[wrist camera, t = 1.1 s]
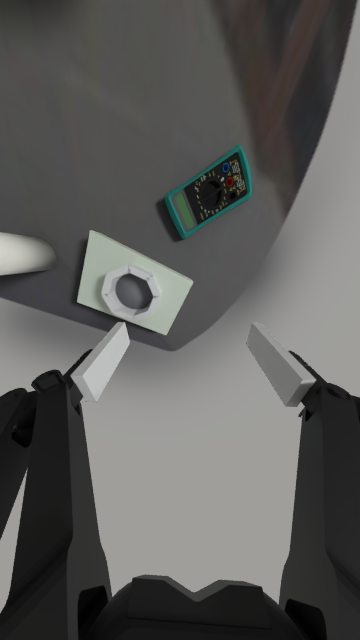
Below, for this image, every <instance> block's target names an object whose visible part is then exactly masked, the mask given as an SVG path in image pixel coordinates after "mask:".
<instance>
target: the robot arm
mask: <svg viewBox="0 0 360 640" xmlns="http://www.w3.org/2000/svg"><path fill="white" fill-rule="evenodd" d="M129 344H130V341H129V337H128V333H127V329H126V325H125V322H117V324H116V325H115V326H114V327H113V328H112V329H111V330H110V331H109V333H108V334H107V335H106V336H105V337H104V338H103V339H102V341H101V342H100V343H99V344H98V345H97V346H96V347H95V348H94V349H90V350H89V351H87V352H86V353H84V354H83V355H82V356H81V357H80V359H79V360H78V361H77V362H76V363H75V364H74V365H73V366H72V367H71V368H70V369H69V370H68V371H67V372H66V373H65V374H64V375H62V374H61V372H60V371H59V370H51V371H48V372H45V373H43V374H41V375H40V376H38V377H37V378H36V379H35V380H34V381H33V382H32V384H31V386H32V387H33V388H34V389H35V390H36V391H32V392H27V391H26V390H25V389H24V388H18V389H14V390H12V391H9V392H7V393H6V394H4V395H3V396H1V397H0V539H1V537H2V534H3V531H4V529H5V526H6V524H7V521H8V518H9V516H10V513H11V510H12V507H13V505H14V502H15V500H16V497H17V494H18V491H19V489H20V486H21V483H22V481H23V478H24V476H25V473H26V470H27V468H28V471H27V477H26V484H25V491H24V497H23V505H22V511H21V518H20V525H19V532H18V539H17V546H16V552H15V559H14V566H13V573H12V580H11V587H10V592H9V596H8V599H7V602H6V604H5V607H4V608H3V610H2V611H1V613H0V640H360V398H359V397H356V396H352V395H350V394H349V393H348V392H347V391H345V390H344V389H342V388H340V387H339V386H337V385H334V384H331V383H327V382H326V381H325V380H324V379H323V378H322V377H321V376H319V375H318V374H317V373H316V372H315V371H314V370H313V369H312V368H311V367H310V366H308V364H307V363H306V362H304V360H303V359H302V358H301V357H300V356H298V355H297V354H295V353H294V352H292V351H287V350H286V349H285V347H283V345H282V344H280V342H279V341H277V339H276V338H274V336H273V335H272V334H271V333H270V332H269V331H268V330H267V329H266V328H265V327H264V326H263V325H262V324H261V323H252V325H251V329H250V332H249V336H248V339H247V343H246V344H247V346H248V348H249V349H250V351H251V352H252V354H253V356H254V357H255V359H256V360H257V362H258V364H259V365H260V367H261V368H262V370H263V371H264V373H265V375H266V376H267V378H268V379H269V381H270V383H271V384H272V386H273V387H274V389H275V391H276V392H277V394H278V395H279V397H280V399H281V400H282V402H283V403H284V405H285V406H290V407H291V406H292V407H297V406H298V405H299V403H300V402H302V403H303V405H304V406H305V407H304V409H303V410H302V411H301V412H300V414H299V417H301V416H302V426H301V436H300V447H299V458H298V469H297V479H296V490H295V501H294V511H293V522H292V533H291V544H290V552H289V556H288V559H287V561H286V563H285V565H284V570H283V574H282V580H281V588H280V597H279V605H278V604H277V603H276V602H275V601H274V600H273V599H272V598H270V597H269V596H268V595H267V594H265V593H264V592H263V590H262V587H261V586H257V585H254V584H250V583H247V582H243V581H229V580H218V581H216V582H214V583H212V584H210V585H208V586H207V587H205V588H203V589H201V590H199V591H197V592H195V593H194V592H191V591H190V590H188V589H186V588H185V587H184V586H182V585H181V584H179V583H178V582H176V581H175V580H173V579H172V578H170V577H168V576H157V575H142V576H138V577H134V578H133V579H132V582H130V583H128V584H127V585H126V586H124V587H123V588H122V589H121V590H119V591H118V592H117V593H116V594H115V595H114V596H113V597H112V593H111V586H110V579H109V572H108V566H107V561H106V557H105V554H104V551H103V548H102V546H101V543H100V538H99V530H98V523H97V516H96V509H95V502H94V494H93V487H92V480H91V473H90V466H89V458H88V451H87V443H86V436H85V429H84V422H83V414H82V407H81V403H80V401H81V399H82V398H83V397H84V399H85V401H86V402H97V400H98V399H99V397H100V395H101V393H102V392H103V390H104V388H105V386H106V384H107V383H108V381H109V379H110V377H111V375H112V374H113V372H114V370H115V369H116V367H117V365H118V363H119V362H120V360H121V358H122V356H123V355H124V353H125V351H126V349H127V347H128V346H129Z"/></svg>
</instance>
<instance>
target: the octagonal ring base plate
mask: <svg viewBox="0 0 360 640" xmlns="http://www.w3.org/2000/svg"><path fill="white" fill-rule="evenodd" d="M192 284H193V281H192V280H191V279H190V278H188V277H186V276H184V275H182V274H180V273H178V272H176V271H174V270H172V269H170V268H168V267H166V266H164V265H162V264H160V263H158V262H156V261H154V260H152V259H150V258H148V257H146V256H144V255H143V254H141V253H139V252H137V251H135V250H133V249H131V248H129V247H127V246H125V245H123V244H121V243H119V242H117V241H115V240H113V239H111V238H109V237H107V236H105V235H103V234H101V233H98V232H95V231H92V230H90V235H89V240H88V245H87V251H86V256H85V262H84V267H83V272H82V278H81V283H80V288H79V294H78V299H77V302H78V303H81V304H83V305H86V306H89V307H91V308H94V309H97V310H99V311H102V312H105V313H107V314H110V315H113V316H116V317H118V318H121V319H124V320H126V321H129V322H132V323H134V324H137V325H140V326H142V327H145V328H148V329H151V330H153V331H156V332H159V333H161V334H164V335H167V333H168V331H169V329H170V327H171V325H172V323H173V321H174V319H175V317H176V315H177V313H178V311H179V309H180V307H181V305H182V303H183V302H184V300H185V298H186V296H187V294H188V292H189V290H190V288H191V286H192Z"/></svg>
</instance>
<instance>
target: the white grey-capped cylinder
mask: <svg viewBox="0 0 360 640" xmlns="http://www.w3.org/2000/svg"><path fill="white" fill-rule="evenodd" d="M55 265H56V255H55V253H54V251H53V249H52V248H51V246H50V245H49V244H48V243H46V242H45V241H43V240H42V239H39V238H36V237H30V236H23V235H16V234H9V233H2V232H0V275H8V274H17V273H26V272H35V271H44V270H50V269H52V268H54V266H55Z"/></svg>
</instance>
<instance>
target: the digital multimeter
mask: <svg viewBox="0 0 360 640" xmlns="http://www.w3.org/2000/svg"><path fill="white" fill-rule="evenodd" d="M229 156H230V157H229ZM173 195H174V196H173ZM251 196H252V180H251V172H250V167H249V163H248V160H247V158H246V155H245V153H244V151H243V148H242V146H241V145H240V144H239V145H237V146H236V147H234V148H233V149H232V150H231V151H229V152H228V153H227V154H225V155H224V156H223V157H221V158H220V159H219V160H217V161H216V162H215V163H213V164H212V165H211V166H209V167H208V168H207V169H205V170H204V171H202V172H201V173H199V174H198V175H196V176H195V177H193V178H192V179H190V180H189V181H187V182H186V183H184V184H182V185H181V186H179V187H178V188H176V189H174V190H173V191H171V192H169V193H168V194H166V195H165V203H166V206H167V209H168V211H169V214H170V216H171V219H172V221H173V223H174V225H175V227H176V229H177V231H178V233H179V235H180V236H181V238H182V239H186V238H187V237H188V236H190V235H191V234H193V233H194V232H196V231H197V230H199V229H200V228H202V227H203V226H205V225H206V224H208V223H209V222H211V221H212V220H214V219H216V218H217V217H219V216H221V215H222V214H224V213H226V212H227V211H229V210H231V209H233V208H234V207H236V206H238V205H240V204H242V203H243V202H245V201H247V200H248V199H249V198H250V197H251ZM237 200H238V201H237ZM202 222H203V223H202Z"/></svg>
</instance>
